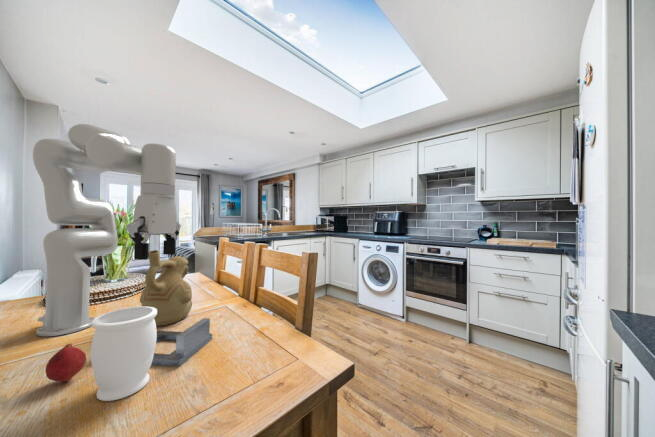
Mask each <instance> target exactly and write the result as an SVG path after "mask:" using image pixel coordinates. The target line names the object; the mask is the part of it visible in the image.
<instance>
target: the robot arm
mask: <svg viewBox="0 0 655 437" xmlns="http://www.w3.org/2000/svg"><path fill="white" fill-rule="evenodd" d="M67 136H68V137H67V138H68V139H69V141H67V140H63V139H57V138H43V139H42V138H41V139H39V140H37V141H36V143H35V144H34V145H33V146H34V147H33V150H32V159H33V160H32V161H33V164H34V167H35V170H36V171H37V175H38V176H39V177H40V179H41V181H42V182H41V183H42V185H43V192H44V193H43V194H44V201H45V207H46V214H47V218H48V220H49V222H50V223H52V224H54V225H58V226H91V227H92V228H90V227H89V228H87V227H86V228H85V227H83V228H81V227H80V228H76V227H75V228H74V227H72V228H68V227H67V228H59V229H55V230H52V231H49V232H48V233H47V234H46V235H45V236H44V237H43V239H42V240H43V242H42V246H43V251H44V255H45V260H46V261H45V262H46V288H45V310H44V311H45V313H44V314H43V316H40V317H38V318H37V322H42V326H41V327H39V328H37V329H36V335H37V336H38V337H43V338H44V337H57V336H62V335H67V334H71V333H75V332H79V331H82V330H85V329H87V328H89V327H92V323H93V320H94V319H95V318H96V317H93V316H90V296H91V295H90V292H91V291H90V290H91V289H90V288H91V269H90V267H89V266H88V264H86V263H85V262H84V261H83V260H82V258H86V257H98V256H106V255H109V254H110V255H111V254H112V253H114V252H115V251H116V250H117V248H118V245H119V238H118V232H117V223H116V216H115V212H114V209H113V206H112V205H111V204H110V203H109V201H106V200H104V199H100V198H89V197H85V195H84V193H83V186H82V184H81V181H80V180H79V179H78V178H77V177H76V176H75V175H74V174H73V173H72V172H70V171H69V170H68V169H72V170H79V171H85V172H91V173H97V174H98V173H99V174H100V173H101V174H102V173H106V172H108V171H115V172H119V173H120V172H121V173H125V174H132V175H136V176H140V191H139V192H140V194H139V195H138V196H137V199H136V201H135V205H134V210H133V220H132V221H131V222H129V223H128V224H127V225H126V229H127V231H128V237H129V239H131V240H132V241H131V242H132V244H134V246H133V247H134V248H133V250H134V252H133V255H134V256H133V258H134V260H137V261H138V260H140V261H141V260H143V261H146V260H149V252H150V243H149V242H148V241H149V239H150V238H151V236H160V235H163V237H164V240H163V248H162V249H163V255H167V256H168V255H169V256H170V255H172V256H173V255H176V249H177V248H176V247H177V246H176V245H177V240H178V236H179V235H180V230H181V227H182V225H181V224H180V223H179V222H178V221H177V207H176V206H177V204H176V199H175V197H176V171H177V170H176V167H177V166H176V162H177V158H176V157H177V152H176V151H175V149H174V148H172V147H170V146H168V145H164V144H160V143H146V144H144V145H143V146H142V147H139V146H136V145H132V144H130V141H129V140H128V139H127V137H126V136H124V135H123V134H121V133H118V132H116V131H111V130H109V129H106V128H103V127H102V128H101V127H98V126H95V125H92V124H84V123H79V124H75V125H73V126H71V127H70V128H69V130H68V132H67Z"/></svg>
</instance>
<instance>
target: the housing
mask: <svg viewBox="0 0 655 437" xmlns="http://www.w3.org/2000/svg"><path fill="white" fill-rule="evenodd" d="M210 323H211V318H205V317H204V318H201V319H200V320H199V321H197V322H195V323H193V324H192V325H191V326H189V327H188V328H186V329H185V330H183V331H173V330H157V339H156V345H157V344H159V343H160V342H162V341H176V342H175V343H176V344H175V350H173V351H172V352H170V353H168V354H167V353H159V352H158V353H157V352H156V353H155V352H154V356H153V360H152V364H151V366H160V367H161V366H162V367H177V368H180V366H182V365H183V364H184V363H185V362H187V361H188V360H189V359H190V358H191V357H193V356H194V355H195V354H196V353H198V351H200V350H201V349H202V348H203V347H204V346H205V345H207V344H208V343H209V342H210V341H211V340H213V333H211V332H210V331H211V330H210V326H211V325H210Z"/></svg>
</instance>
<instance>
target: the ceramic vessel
mask: <svg viewBox="0 0 655 437" xmlns="http://www.w3.org/2000/svg"><path fill="white" fill-rule="evenodd" d="M148 260H149V267H148V269H147V270H146V274H145V278H144V281H145V285H146V286H145V287H144V288H143V290H142V291H141V294H140V297H139V303H141V306H149V307H155V308H156V309H157V315H156V316H155V317H154V320H155V323H156V327H160V326H168V325H172V324H175V323H178V322H179V321H182V320H183V319H185V318H186V317H187V316H188V314H189V313H190V312H191V309H192V307H193V306H192V305H193V301H192V298H193V293H192V292H193V291H192V286H191V285H190V283H189V282H187V281H186V280H185V279H184V278H185V277H186V276H187V274H188V272H189V267H190V266H188V264H189V260H188V259H187V258H185V257H183V256H179V255H177V256H173V257H169V258H168V259H162V260H161V258H160V250H156V249H155V250H149V258H148ZM159 270H160V272H161V273H160V274H159V275H158V276H157V273H158V271H159ZM156 276H157V277H156Z"/></svg>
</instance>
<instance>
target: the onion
mask: <svg viewBox="0 0 655 437" xmlns="http://www.w3.org/2000/svg"><path fill="white" fill-rule="evenodd" d="M73 345H74V344H73V342H68V343H66V344H65V345H64V346H63V347H62V348H61V349H59V350H58V351H57V352H56V353H55V354H54V355H52V356H51V358H50V359H49V360H48V362H47V364H46V365H45V375H46V377H47V378H48V379H49V380H51V381H53V382H59V383H68V382H69V381H70V380H72V379H73V378H74V377H75V376H76V375H77V374H79V372H80V371H82V369H83V368H84V367H85V364H86V362H87V354H86V353H85V352H84V351H83V350H82V349H80V348H79V347H76V346H73Z"/></svg>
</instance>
